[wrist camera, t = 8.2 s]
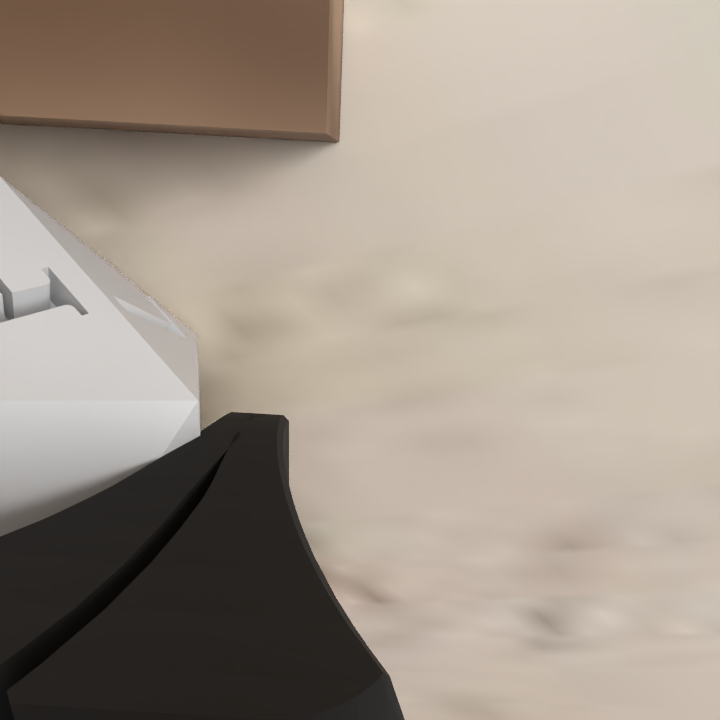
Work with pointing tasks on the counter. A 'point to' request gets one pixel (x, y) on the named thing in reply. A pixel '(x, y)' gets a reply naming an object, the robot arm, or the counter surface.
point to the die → (80, 370)
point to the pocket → (174, 66)
